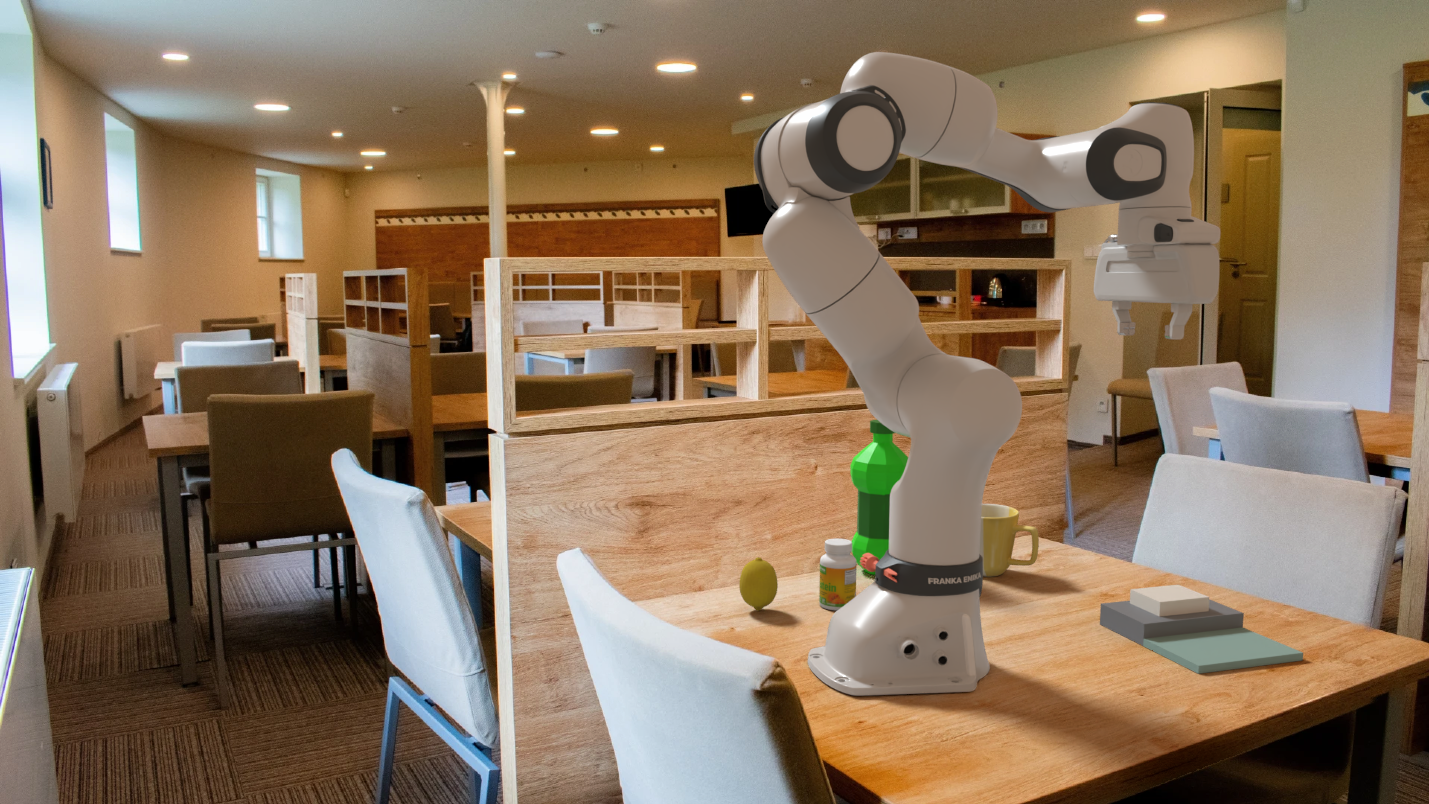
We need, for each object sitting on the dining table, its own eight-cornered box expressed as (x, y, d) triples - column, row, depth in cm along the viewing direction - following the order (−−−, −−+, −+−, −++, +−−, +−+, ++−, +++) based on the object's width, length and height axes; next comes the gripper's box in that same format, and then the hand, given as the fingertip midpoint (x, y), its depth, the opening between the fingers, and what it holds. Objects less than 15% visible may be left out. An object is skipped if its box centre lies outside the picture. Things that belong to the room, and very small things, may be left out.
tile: (1159, 616, 139) (1160, 602, 139) (1129, 603, 145) (1130, 589, 145) (1208, 611, 142) (1209, 597, 141) (1177, 598, 147) (1178, 584, 147)
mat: (1198, 673, 127) (1198, 665, 127) (1143, 646, 137) (1143, 638, 137) (1302, 660, 132) (1303, 652, 132) (1242, 634, 141) (1242, 627, 141)
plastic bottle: (905, 562, 177) (909, 417, 174) (915, 580, 166) (919, 426, 163) (846, 561, 177) (849, 416, 174) (852, 579, 167) (855, 425, 164)
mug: (940, 570, 172) (941, 508, 170) (977, 560, 178) (979, 500, 177) (1011, 590, 161) (1013, 524, 160) (1048, 578, 168) (1050, 514, 167)
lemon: (755, 619, 147) (755, 564, 146) (731, 609, 152) (731, 556, 151) (785, 612, 150) (785, 558, 150) (761, 602, 155) (761, 550, 154)
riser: (1143, 646, 137) (1144, 624, 136) (1099, 624, 145) (1100, 603, 145) (1242, 634, 141) (1243, 613, 141) (1194, 614, 150) (1195, 593, 149)
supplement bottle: (811, 605, 154) (812, 541, 153) (835, 597, 157) (836, 535, 156) (838, 614, 150) (839, 548, 149) (863, 606, 153) (864, 542, 152)
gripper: (1084, 234, 145) (1080, 333, 147) (1188, 228, 126) (1182, 342, 127) (1122, 234, 147) (1118, 332, 149) (1231, 228, 127) (1225, 340, 129)
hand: (1149, 337), depth 138 cm, fingers open, 8 cm apart
